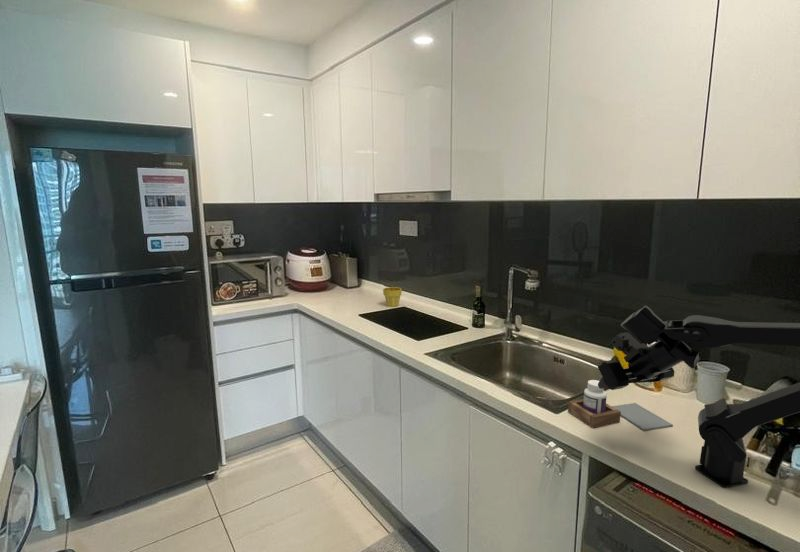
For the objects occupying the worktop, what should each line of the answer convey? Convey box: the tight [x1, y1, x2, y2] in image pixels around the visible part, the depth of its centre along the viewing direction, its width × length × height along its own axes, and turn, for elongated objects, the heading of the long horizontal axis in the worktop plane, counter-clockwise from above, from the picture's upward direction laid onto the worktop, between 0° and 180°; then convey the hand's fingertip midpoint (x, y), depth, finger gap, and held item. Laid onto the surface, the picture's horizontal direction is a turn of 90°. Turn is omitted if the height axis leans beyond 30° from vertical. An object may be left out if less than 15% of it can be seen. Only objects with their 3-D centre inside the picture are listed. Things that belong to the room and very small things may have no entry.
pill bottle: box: [583, 379, 607, 414], centre depth 107 cm, size 5×5×10 cm
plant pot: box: [382, 286, 403, 308], centre depth 228 cm, size 10×10×10 cm
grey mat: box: [611, 402, 674, 432], centre depth 108 cm, size 12×9×1 cm
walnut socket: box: [567, 398, 621, 429], centre depth 108 cm, size 9×9×3 cm
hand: (613, 383), depth 101 cm, fingers open, 9 cm apart
